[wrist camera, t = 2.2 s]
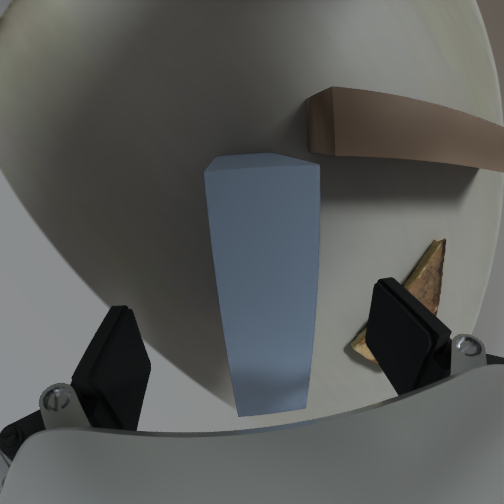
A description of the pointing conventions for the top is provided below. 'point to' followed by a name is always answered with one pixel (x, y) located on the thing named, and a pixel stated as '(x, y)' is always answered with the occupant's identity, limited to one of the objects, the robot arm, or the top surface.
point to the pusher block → (266, 274)
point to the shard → (417, 288)
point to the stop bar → (400, 129)
